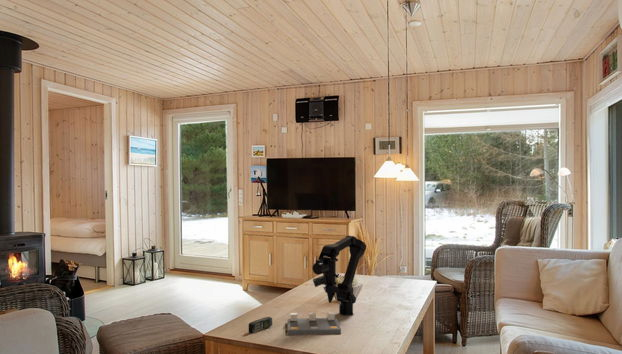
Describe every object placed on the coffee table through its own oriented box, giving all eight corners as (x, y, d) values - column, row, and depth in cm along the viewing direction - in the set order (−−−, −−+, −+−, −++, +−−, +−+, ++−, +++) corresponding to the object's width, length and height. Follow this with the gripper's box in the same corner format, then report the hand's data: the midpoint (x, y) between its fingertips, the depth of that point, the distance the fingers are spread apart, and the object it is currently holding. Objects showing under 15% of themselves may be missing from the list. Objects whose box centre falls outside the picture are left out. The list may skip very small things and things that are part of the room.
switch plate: (336, 322, 209) (336, 317, 209) (340, 333, 193) (340, 329, 193) (287, 322, 208) (287, 318, 208) (287, 334, 192) (287, 330, 192)
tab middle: (315, 318, 207) (315, 312, 207) (315, 320, 205) (315, 314, 205) (309, 319, 207) (309, 312, 207) (309, 320, 204) (309, 314, 204)
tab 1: (296, 319, 206) (296, 313, 206) (296, 320, 204) (296, 314, 204) (290, 319, 206) (290, 313, 206) (290, 320, 204) (290, 314, 204)
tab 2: (333, 318, 208) (333, 312, 208) (334, 320, 205) (334, 313, 205) (327, 318, 207) (327, 312, 207) (328, 320, 205) (328, 314, 205)
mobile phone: (251, 324, 192) (275, 315, 204) (247, 322, 194) (270, 314, 206) (251, 335, 192) (275, 325, 204) (247, 333, 194) (270, 324, 206)
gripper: (312, 267, 221) (312, 297, 221) (315, 275, 202) (315, 308, 202) (333, 267, 221) (333, 297, 221) (338, 275, 203) (338, 308, 203)
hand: (329, 302), depth 212 cm, fingers closed
